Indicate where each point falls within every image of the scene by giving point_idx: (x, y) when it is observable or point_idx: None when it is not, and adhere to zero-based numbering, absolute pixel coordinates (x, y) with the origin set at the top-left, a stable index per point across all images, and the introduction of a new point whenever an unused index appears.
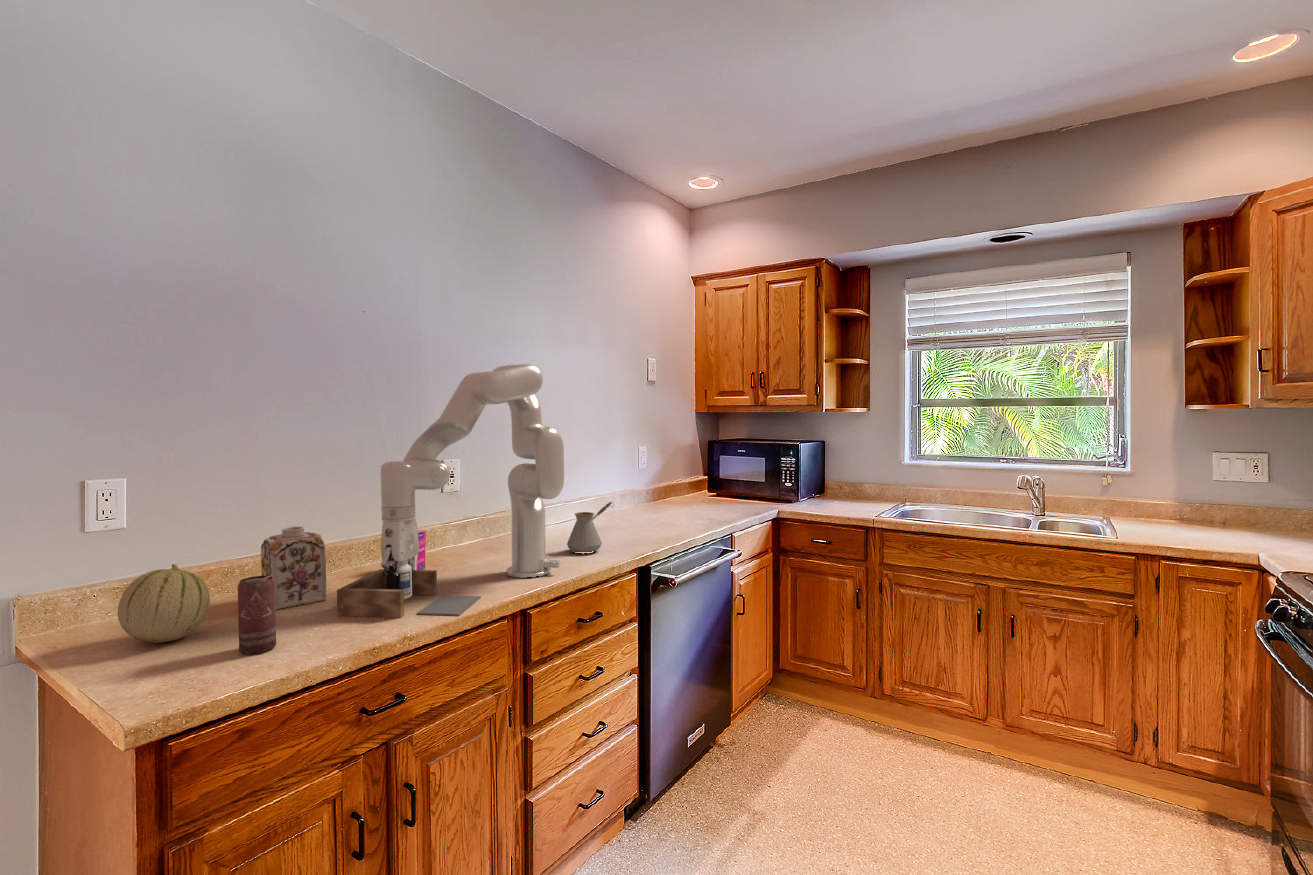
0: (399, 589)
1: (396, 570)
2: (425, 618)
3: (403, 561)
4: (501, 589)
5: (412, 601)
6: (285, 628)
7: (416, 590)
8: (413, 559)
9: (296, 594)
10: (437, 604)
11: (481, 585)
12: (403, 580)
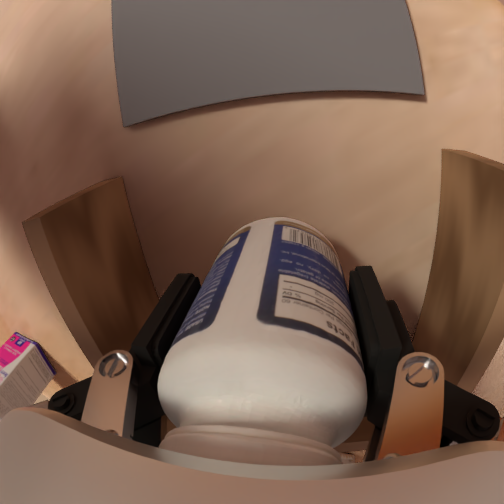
0: (371, 270)
1: (442, 390)
2: (450, 41)
3: (467, 451)
4: (33, 9)
5: (227, 221)
6: (475, 391)
7: (134, 264)
8: (67, 388)
9: None
10: (271, 49)
11: (8, 99)
12: (335, 298)
